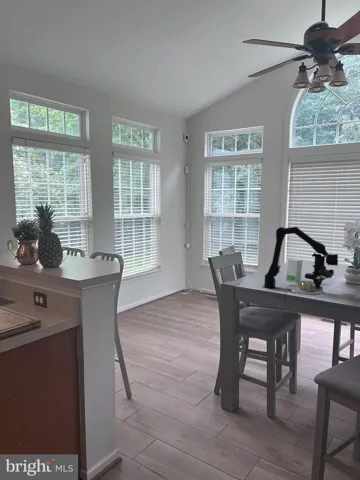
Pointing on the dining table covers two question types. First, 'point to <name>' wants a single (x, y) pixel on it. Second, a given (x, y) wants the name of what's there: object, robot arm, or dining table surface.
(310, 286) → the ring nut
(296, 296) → the dining table surface
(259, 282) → the dining table surface
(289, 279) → the skincare box
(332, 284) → the dining table surface
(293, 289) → the clear glass plate
